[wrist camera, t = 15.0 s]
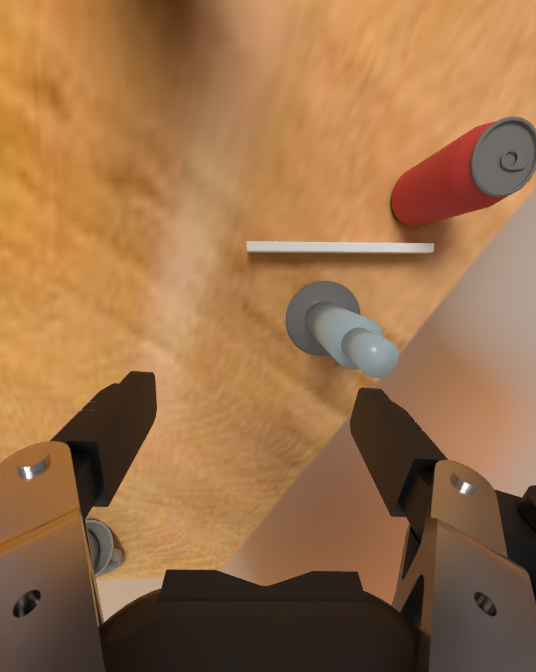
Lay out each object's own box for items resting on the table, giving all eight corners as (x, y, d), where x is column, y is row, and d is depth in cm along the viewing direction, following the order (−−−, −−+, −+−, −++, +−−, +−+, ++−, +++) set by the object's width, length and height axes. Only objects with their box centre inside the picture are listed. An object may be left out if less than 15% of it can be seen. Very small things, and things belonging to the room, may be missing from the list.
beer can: (429, 233, 33) (524, 212, 21) (381, 219, 32) (453, 190, 21) (449, 176, 32) (563, 122, 20) (399, 161, 31) (488, 95, 19)
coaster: (285, 354, 36) (285, 355, 36) (286, 281, 33) (287, 281, 33) (355, 353, 36) (356, 354, 36) (362, 281, 34) (363, 281, 34)
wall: (247, 252, 32) (246, 250, 29) (247, 244, 32) (246, 241, 29) (417, 253, 34) (433, 252, 31) (418, 245, 33) (434, 243, 30)
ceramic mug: (51, 538, 41) (7, 598, 34) (84, 509, 40) (46, 563, 33) (105, 571, 44) (76, 633, 36) (138, 544, 43) (114, 602, 35)
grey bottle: (304, 337, 35) (344, 389, 20) (305, 301, 34) (349, 326, 18) (338, 336, 35) (406, 387, 20) (341, 301, 34) (415, 326, 19)
